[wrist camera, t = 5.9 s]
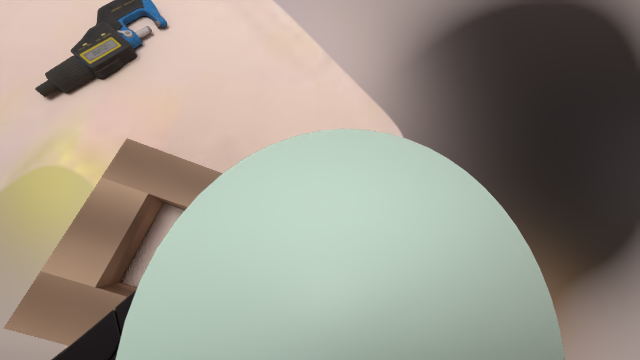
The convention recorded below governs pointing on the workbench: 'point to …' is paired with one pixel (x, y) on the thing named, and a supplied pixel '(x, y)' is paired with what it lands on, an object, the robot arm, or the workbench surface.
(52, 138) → the workbench surface
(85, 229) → the socket block
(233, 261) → the pin
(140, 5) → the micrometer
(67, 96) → the workbench surface
